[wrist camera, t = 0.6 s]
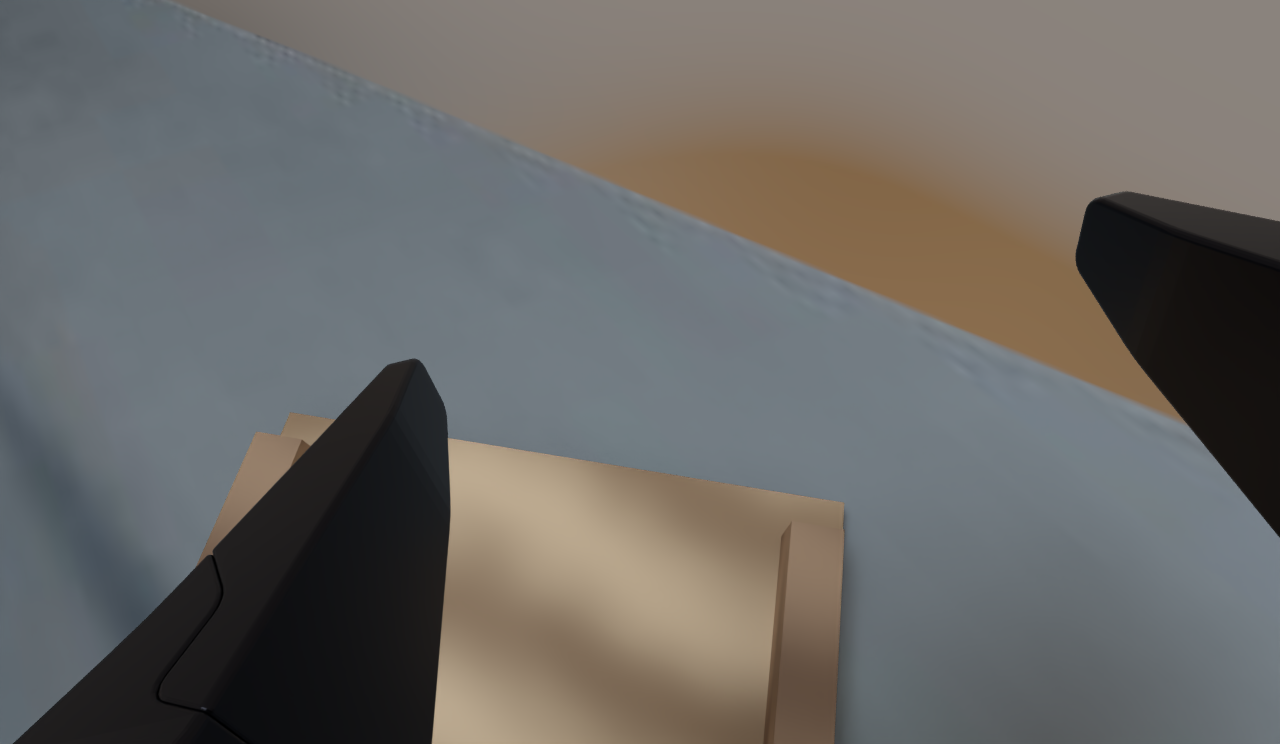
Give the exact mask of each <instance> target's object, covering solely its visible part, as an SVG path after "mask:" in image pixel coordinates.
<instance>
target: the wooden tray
mask: <svg viewBox="0 0 1280 744" xmlns="http://www.w3.org/2000/svg"><path fill="white" fill-rule="evenodd" d="M334 421H335V420H334V419H328V418H321V417H315V416H309V415H303V414H297V413H291V412H290V414H289V417H288V419H287V421H286V424H285V426H284V428H283V431H282V433H281V435H280V436H279V435H273V434H267V433H261V432H256V433H255V436H254V438H253V440H252V442H251V444H250V447H249V449H248V451H247V453H246V456H245V458H244V460H243V462H242V465H241V467H240V469H239V471H238V474H237V476H236V478H235V480H234V483H233V485H232V487H231V489H230V492H229V494H228V496H227V498H226V501H225V503H224V505H223V507H222V510H221V512H220V514H219V516H218V519H217V521H216V523H215V525H214V528H213V530H212V532H211V534H210V537H209V539H208V541H207V543H206V546H205V548H204V550H203V552H202V555H201V557H200V559H199V561H198V564H197V566H198V565H199V563H200V562H201V561H202V560H203V559H204V558H205V557H206V556H207V555H213V553H212V551H213V549H214V548H215V547H216V546H217V545H218V543H219V542H220V541H221V540H222V539H223V538H224V537H225V536H226V535H227V534H228V533H229V532H230V531H231V530H232V529H233V528H234V527H235V526H236V524H237V523H238V522H239V521H240V520H241V519H242V518H243V517H244V516H245V515H246V514H247V513H248V512H249V511H250V510H251V509H252V508H253V506H254V505H255V504H256V503H257V502H258V501H259V500H260V499H261V498H262V497H263V496H264V495H265V494H266V493H267V492H268V491H269V490H270V489H271V487H272V486H273V485H274V484H275V483H276V482H277V481H278V480H279V479H280V478H281V477H282V476H283V475H284V474H285V473H286V472H287V471H288V469H289V468H290V467H291V466H292V465H293V464H294V463H295V462H296V461H297V460H298V459H299V458H300V457H301V456H302V455H303V454H304V453H305V452H306V450H307V449H308V448H309V447H310V446H311V445H312V444H313V443H314V442H315V441H316V440H317V439H318V438H319V437H320V436H321V435H322V434H323V433H324V431H325V430H326V429H327V428H328V427H329V426H330V425H331V424H332V423H333V422H334ZM448 452H449V474H450V497H451V518H450V534H449V546H448V558H447V570H446V582H445V594H444V606H443V618H442V630H441V642H440V654H439V666H438V678H437V690H436V702H435V714H434V726H433V738H432V744H834V737H835V716H836V696H837V675H838V654H839V633H840V612H841V592H842V571H843V550H844V530H843V516H844V503H842V502H836V501H830V500H824V499H818V498H812V497H806V496H800V495H793V494H787V493H781V492H775V491H769V490H763V489H757V488H751V487H744V486H738V485H732V484H726V483H720V482H714V481H708V480H701V479H695V478H689V477H683V476H677V475H671V474H665V473H659V472H652V471H646V470H640V469H634V468H628V467H622V466H616V465H610V464H603V463H597V462H591V461H585V460H579V459H573V458H567V457H561V456H554V455H548V454H542V453H536V452H530V451H524V450H518V449H511V448H505V447H499V446H493V445H487V444H481V443H475V442H469V441H462V440H456V439H450V438H448ZM197 566H196V567H197Z"/></svg>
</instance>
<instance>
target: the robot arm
mask: <svg viewBox="0 0 1280 744" xmlns="http://www.w3.org/2000/svg"><path fill="white" fill-rule="evenodd" d="M1076 265H1077V268H1078V271H1079V273H1080V274H1081V276H1082V278H1083V279H1084V281H1085V282H1086V284H1087V286H1088V287H1089V289H1090V290H1091V292H1092V294H1093V295H1094V297H1095V298H1096V300H1097V301H1098V303H1099V305H1100V306H1101V308H1102V309H1103V311H1104V312H1105V314H1106V315H1107V317H1108V319H1109V320H1110V322H1111V324H1112V325H1113V327H1114V328H1115V330H1116V331H1117V333H1118V335H1119V336H1120V338H1121V339H1122V341H1123V343H1124V344H1125V346H1126V347H1127V348H1128V350H1129V351H1130V353H1131V354H1132V356H1133V357H1134V359H1135V360H1136V361H1137V363H1138V364H1139V365H1140V366H1141V368H1142V369H1143V370H1144V372H1145V373H1146V374H1147V375H1148V377H1149V378H1150V379H1151V380H1152V382H1153V383H1154V384H1155V385H1156V386H1157V388H1158V389H1159V390H1160V391H1161V393H1162V394H1163V395H1164V396H1165V398H1166V399H1167V400H1168V401H1169V402H1170V404H1171V405H1172V406H1173V407H1174V409H1175V410H1176V411H1177V412H1178V413H1179V415H1180V416H1181V417H1182V418H1183V420H1184V421H1185V422H1186V423H1187V425H1188V426H1189V427H1190V428H1191V429H1192V431H1193V432H1194V433H1195V434H1196V436H1197V437H1198V438H1199V439H1200V440H1201V442H1202V443H1203V444H1204V445H1205V447H1206V448H1207V449H1208V450H1209V452H1210V453H1211V454H1212V455H1213V456H1214V458H1215V459H1216V460H1217V461H1218V463H1219V464H1220V465H1221V466H1222V468H1223V469H1224V470H1225V471H1226V472H1227V474H1228V475H1229V476H1230V477H1231V479H1232V480H1233V481H1234V482H1235V483H1236V485H1237V486H1238V487H1239V488H1240V490H1241V491H1242V492H1243V493H1244V495H1245V496H1246V497H1247V498H1248V499H1249V501H1250V502H1251V503H1252V504H1253V506H1254V507H1255V508H1256V509H1257V510H1258V512H1259V513H1260V514H1261V515H1262V517H1263V518H1264V519H1265V520H1266V522H1267V523H1268V524H1269V525H1270V526H1271V528H1272V529H1273V530H1274V531H1275V533H1276V534H1277V535H1278V536H1279V537H1280V222H1279V221H1275V220H1270V219H1265V218H1260V217H1255V216H1250V215H1245V214H1239V213H1235V212H1230V211H1225V210H1220V209H1214V208H1209V207H1205V206H1199V205H1194V204H1189V203H1184V202H1179V201H1174V200H1169V199H1164V198H1159V197H1154V196H1149V195H1144V194H1139V193H1134V192H1119V193H1115V194H1111V195H1107V196H1103V197H1099V198H1095V199H1094V200H1093V201H1091V202H1090V203H1089V205H1088V206H1087V208H1086V211H1085V215H1084V220H1083V224H1082V228H1081V232H1080V237H1079V241H1078V245H1077V249H1076ZM450 518H451V497H450V474H449V452H448V429H447V415H446V410H445V406H444V403H443V401H442V399H441V397H440V395H439V393H438V391H437V389H436V387H435V386H434V384H433V382H432V380H431V378H430V376H429V374H428V372H427V370H426V368H425V367H424V365H423V364H422V363H421V362H420V361H419V360H417V359H409V360H405V361H401V362H396V363H392V364H389V365H387V366H386V367H385V368H384V369H383V370H382V371H381V372H380V373H379V374H378V375H377V376H376V377H375V379H374V380H373V381H372V382H371V383H370V384H369V385H368V386H367V387H366V388H365V389H364V390H363V391H362V392H361V393H360V394H359V395H358V397H357V398H356V399H355V400H354V401H353V402H352V403H351V404H350V405H349V406H348V407H347V408H346V409H345V410H344V411H343V412H342V413H341V415H340V416H339V417H338V418H337V419H336V420H335V421H334V422H333V423H332V424H331V425H330V426H329V427H328V428H327V429H326V430H325V431H324V433H323V434H322V435H321V436H320V437H319V438H318V439H317V440H316V441H315V442H314V443H313V444H312V445H311V446H310V447H309V448H308V449H307V450H306V452H305V453H304V454H303V455H302V456H301V457H300V458H299V459H298V460H297V461H296V462H295V463H294V464H293V465H292V466H291V467H290V468H289V469H288V471H287V472H286V473H285V474H284V475H283V476H282V477H281V478H280V479H279V480H278V481H277V482H276V483H275V484H274V485H273V486H272V487H271V489H270V490H269V491H268V492H267V493H266V494H265V495H264V496H263V497H262V498H261V499H260V500H259V501H258V502H257V503H256V504H255V505H254V506H253V508H252V509H251V510H250V511H249V512H248V513H247V514H246V515H245V516H244V517H243V518H242V519H241V520H240V521H239V522H238V523H237V524H236V526H235V527H234V528H233V529H232V530H231V531H230V532H229V533H228V534H227V535H226V536H225V537H224V538H223V539H222V540H221V541H220V542H219V543H218V545H217V546H216V547H215V548H214V549H213V551H212V553H213V555H207V556H206V557H205V558H204V559H203V560H202V561H201V562H200V563H199V565H198V566H197V567H196V568H195V569H194V570H193V571H192V572H191V573H190V574H189V575H188V576H187V577H186V578H185V579H184V580H183V581H182V582H181V583H180V584H179V586H178V587H177V588H176V589H175V590H174V591H173V592H172V593H171V594H170V595H169V596H168V597H167V598H166V599H165V600H164V601H163V602H162V603H161V604H160V605H159V606H158V607H157V608H156V609H155V610H154V611H153V612H152V613H151V614H150V615H149V616H148V617H147V618H146V619H145V620H144V621H143V622H142V623H141V624H140V625H139V626H138V627H137V628H136V629H135V630H134V631H132V632H131V633H130V634H129V635H128V636H127V637H126V638H125V639H124V640H123V641H122V642H121V643H120V644H119V645H118V646H117V647H116V648H115V649H114V650H113V651H112V652H111V653H109V654H108V655H107V656H106V657H105V658H104V659H103V660H102V661H101V662H100V663H99V664H98V665H97V666H96V667H95V668H93V669H92V670H91V671H90V672H89V673H88V674H87V675H86V676H85V677H84V678H83V679H82V680H81V681H80V682H79V683H77V684H76V685H75V686H74V687H73V688H72V689H71V690H70V691H69V692H68V693H67V694H66V695H65V696H64V697H62V698H61V699H60V700H59V701H58V702H57V703H56V704H55V705H54V706H53V707H52V708H51V709H50V710H49V711H47V712H46V713H45V714H44V715H43V716H42V717H41V718H40V719H39V720H38V721H37V722H36V723H35V724H34V725H33V726H31V727H30V728H29V729H28V730H27V731H26V732H25V733H24V734H23V735H22V736H21V737H20V738H19V739H18V740H16V741H15V742H14V743H13V744H432V738H433V726H434V714H435V702H436V690H437V678H438V666H439V654H440V642H441V630H442V618H443V606H444V594H445V582H446V570H447V558H448V546H449V534H450Z"/></svg>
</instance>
